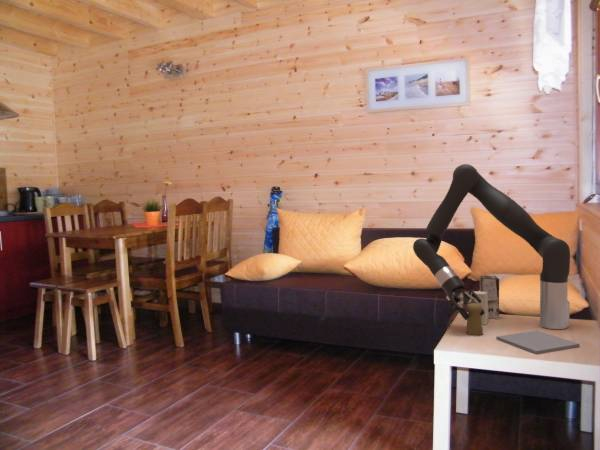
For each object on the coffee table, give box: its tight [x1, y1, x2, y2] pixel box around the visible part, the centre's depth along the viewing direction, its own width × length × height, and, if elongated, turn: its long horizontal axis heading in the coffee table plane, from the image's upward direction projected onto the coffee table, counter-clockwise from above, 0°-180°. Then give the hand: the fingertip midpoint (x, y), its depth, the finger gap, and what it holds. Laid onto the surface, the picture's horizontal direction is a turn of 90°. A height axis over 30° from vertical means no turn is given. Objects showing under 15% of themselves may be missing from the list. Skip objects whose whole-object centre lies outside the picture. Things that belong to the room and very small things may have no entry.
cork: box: [465, 303, 484, 337], centre depth 187 cm, size 6×6×11 cm
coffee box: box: [479, 275, 500, 320], centre depth 211 cm, size 9×6×16 cm
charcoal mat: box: [495, 329, 580, 355], centre depth 174 cm, size 18×18×1 cm
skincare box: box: [470, 290, 489, 326], centre depth 201 cm, size 6×4×12 cm
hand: (475, 316), depth 187 cm, fingers open, 8 cm apart
